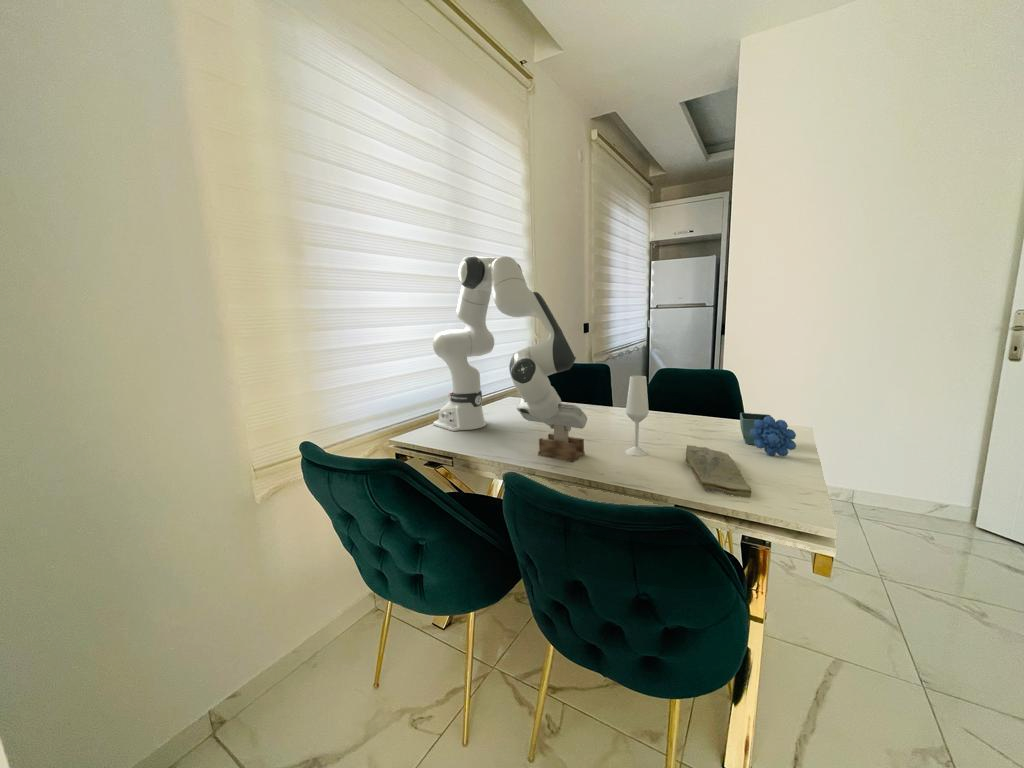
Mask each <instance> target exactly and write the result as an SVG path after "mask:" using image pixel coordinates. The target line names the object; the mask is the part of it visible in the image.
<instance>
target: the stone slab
mask: <svg viewBox="0 0 1024 768" xmlns="http://www.w3.org/2000/svg"><path fill="white" fill-rule="evenodd" d="M685 449H686V451H685V452H686V453H685V463H687V464H688V465H689V466H690V469H691V472H692V473H693V475H694V477H695V478H696V480H697V482H698V483H699V485H700V486H701V487H702V488H703V489H704V491H706V492H714V491H717V490H718V492H721V491H722V492H721V493H723V492H724V493H723V494H725V493H726V494H725V495H728V494H729V495H728V496H731V495H733V496H732V497H739V496H741V497H742V498H743V497H744V498H751V497H752V488H751V486H750V485H748V484H747V482H746V481H745V478H744V477H743V475H742V473H741V470H740V469H739V467H738V465H737V463H736V462H735V460H734V459H733V458H732V457H731V456H730V455H729V454H728V453H726V452H722V451H720V450H715V449H710V448H708V447H706V446H696V445H691V444H688V445H686V448H685ZM741 497H740V498H741Z"/></svg>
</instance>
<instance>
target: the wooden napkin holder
mask: <svg viewBox="0 0 1024 768" xmlns="http://www.w3.org/2000/svg"><path fill="white" fill-rule="evenodd" d="M538 441H539V442H538V447H539V448H538V449H539V450H538V455H537V456H541V457H545V458H549V457H550V458H549V459H555V460H559V461H564V460H565V461H564V462H570V463H574V461H575V462H576V461H577V460H579V459H580V458H582V457H583V456H584V455H585V439H584V438H580V437H575V436H574V437H573V436H569V435H568V443H567V442H561V441H556V440H554V433H548V434H547V438H543V437H539V439H538Z"/></svg>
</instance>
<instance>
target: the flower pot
mask: <svg viewBox="0 0 1024 768" xmlns="http://www.w3.org/2000/svg"><path fill="white" fill-rule="evenodd" d="M766 416H770V417H772V415H771V414H765V413H764V414H763V413H751V412H740V413H739V419H740V420H739V424H740V431H741V435H742V437H743V440H744V442H745V444H746V445H753V446H754V445H755V444H754V441H755V439H756V438H753V437H752V436H751V435H750V430H751V429H753V428H755V426H754V424H753V423H754V421H755V420H758V419H759V420H762V421H763V422H764V418H765V417H766Z"/></svg>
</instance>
